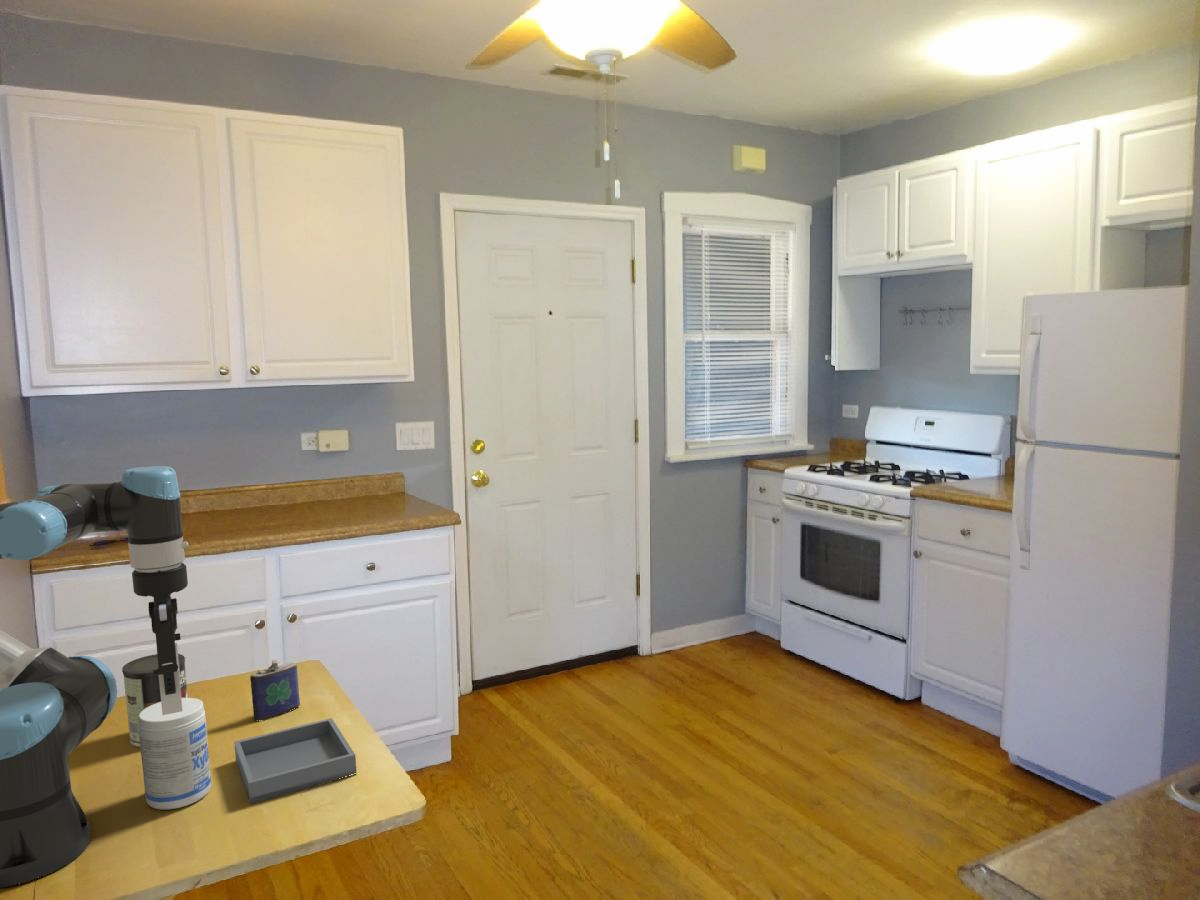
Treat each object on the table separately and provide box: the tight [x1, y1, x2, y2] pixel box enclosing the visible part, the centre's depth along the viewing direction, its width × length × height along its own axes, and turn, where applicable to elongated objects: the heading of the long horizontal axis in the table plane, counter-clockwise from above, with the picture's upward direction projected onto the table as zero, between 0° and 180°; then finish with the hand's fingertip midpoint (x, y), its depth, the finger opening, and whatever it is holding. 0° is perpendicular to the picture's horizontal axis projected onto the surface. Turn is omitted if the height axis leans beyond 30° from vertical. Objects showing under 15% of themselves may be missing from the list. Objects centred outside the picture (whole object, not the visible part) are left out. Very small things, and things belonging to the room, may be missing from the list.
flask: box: [249, 659, 301, 722], centre depth 163 cm, size 9×3×11 cm, turn 136°
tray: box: [234, 717, 357, 805], centre depth 142 cm, size 17×17×4 cm
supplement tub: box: [138, 697, 212, 811], centre depth 133 cm, size 10×10×15 cm
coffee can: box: [121, 653, 189, 748], centre depth 155 cm, size 10×10×14 cm
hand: (171, 696), depth 132 cm, fingers open, 13 cm apart
